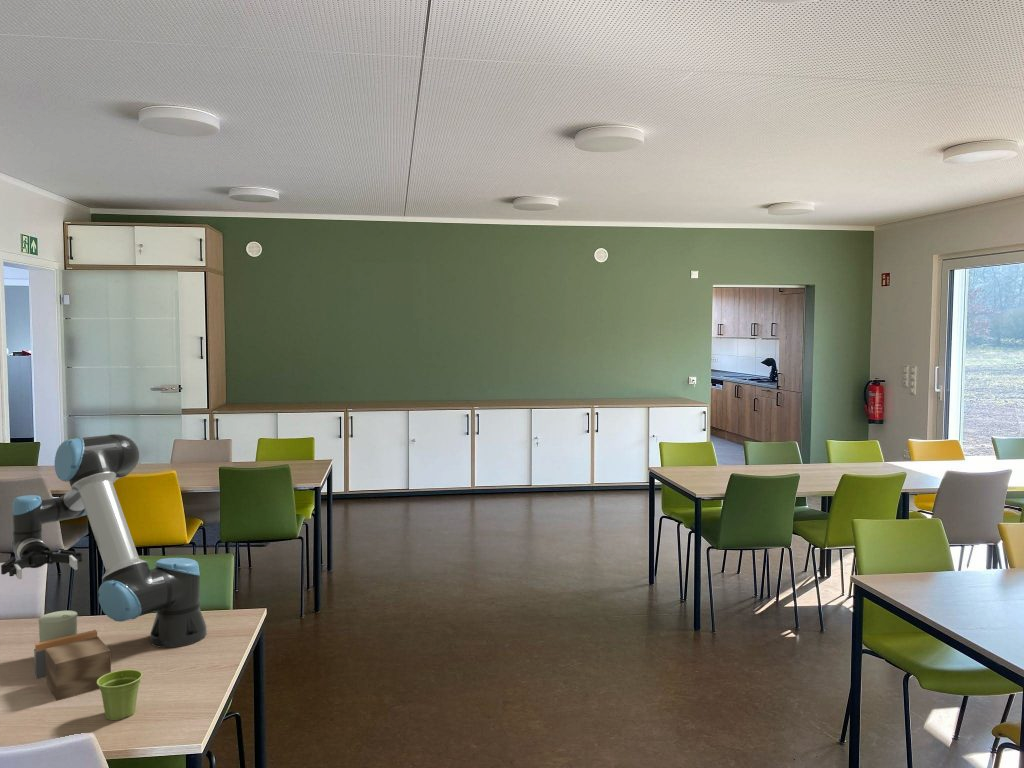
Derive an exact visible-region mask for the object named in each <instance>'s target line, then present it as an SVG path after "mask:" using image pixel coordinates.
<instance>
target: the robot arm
mask: <svg viewBox="0 0 1024 768" xmlns="http://www.w3.org/2000/svg"><path fill="white" fill-rule="evenodd" d="M139 460H140V450H139V447H138V445H137V444H136V443H135V442H134V440H132V439H131V438H129V437H128V436H125V435H123V434H115V433H113V434H106V435H95V436H87V437H86V436H85V437H81V436H80V437H76V438H71V439H67V440H65V441H63V442H61V443H60V445H59V446H58V448H57V450H56V452H55V456H54V471H55V474H56V476H57V478H58V479H59V480H60V481H62V482H69V486H70V489H69V490H68V491H67V492H66V493H65V494H63V495H62V496H60V497H59V496H58V497H52V498H47V499H42V497H41V496H40V495H36V494H29V495H21V496H17V497H16V498H14V499H13V500H12V501H13V502H12V510H11V511H12V513H11V514H12V527H13V529H12V540H11V542H10V543H11V544H10V546H11V550H12V552H13V553H14V555H15V556H13V555H12V556H10V557H9V559H8V560H6V561H5V562H4V563H2V564H1V566H0V573H1V575H6V574H7V573H9V577H14V576H15V577H16V578H17V579H18V580H22V579H23V569H25V568H27V569H28V568H31V569H37V568H41V567H43V566H44V565H46V564H47V565H48V564H49V565H53V564H57V563H58V564H59V563H60V564H69V566H70V567H71V568H72V569H73V570H74V571H77V570H78V565H79V563H83V552H79V551H72V550H66V549H63V548H59V549H58V551H57V552H56V551H52V550H51V549H50V547H49V546H48V545H46V543H45V542H44V541H43V540H42V539H43V538H42V536H43V535H42V533H43V531H42V530H43V529H42V527H43V525H45V524H51V523H55V522H60V521H65V520H71V519H78V518H80V517H84V516H86V517H87V519H88V521H89V525H90V527H91V531H92V533H93V536H94V540H95V542H96V545H97V547H98V551H99V554H100V556H101V560H102V562H103V566H104V568H105V573H104V574H103V576H102V577H101V579H102V583H101V584H100V586H99V588H98V592H97V593H98V598H97V599H98V603H99V606H100V608H101V609H102V612H103V613H104V614H105V615H106V616H107V617H108V618H109V619H111V620H112V621H114V622H125V621H130V620H136V619H137V618H139V617H141V616H144V615H147V614H150V613H154V612H156V615H155V617H154V620H153V623H152V628H151V630H150V633H149V634H150V635H149V640H150V644H152V645H153V646H155V647H158V646H159V648H176V647H183V646H187V645H191V644H195V643H196V642H199V641H201V640H203V639H204V638H205V637H206V636H207V632H208V630H207V629H208V628H207V624H206V621H205V619H204V616H203V613H202V610H201V605H200V603H201V598H200V597H201V594H200V589H201V588H200V576H201V573H200V568H199V567H200V566H199V562H198V561H197V560H196V559H192V558H187V557H167V558H160V559H158V560H156V562H155V564H154V568H151V569H150V567H149V564H148V561H147V560H143V559H141V558H140V557H139V554H138V551H137V549H136V545H135V542H134V540H133V537H132V535H131V531H130V528H129V525H128V523H127V519H126V517H125V514H124V512H123V508H122V504H121V502H120V500H119V496H118V495H117V491H116V489H115V486H114V483H115V482H116V481H117V480H118V479H121V478H126V477H127V476H128V475H129V474H130V473H131V472H133V470H134V469H135V468H136V467H137V465H138V463H139Z"/></svg>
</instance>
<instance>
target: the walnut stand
mask: <svg viewBox="0 0 1024 768" xmlns="http://www.w3.org/2000/svg"><path fill="white" fill-rule="evenodd" d="M111 657H112V655H111V650H110V649H109V647H108V646H107V645H106V644H105V643H104V641H102V640H101V638H100V637H99V636H98V637H94V638H90V639H86V640H81V641H77V642H73V643H68V644H64V645H60V646H55V647H51V648H47V649H45V663H46V677H45V684H46V686H47V687H49V688H48V689H49V690H50V693H51V694H52V695H53V698H54V699H55V701H59V700H64V699H68V698H72V697H74V695H75V696H78V694H79V695H82V694H86V693H90V692H92V691H97V690H100V688H99V686H98V685H97V680H98V679H99V678H100V677H102V676H103V675H105V674H108V673H111V672H112V667H111V665H112V664H111V662H112V660H111V659H112V658H111ZM67 697H68V698H67ZM63 698H64V699H63Z"/></svg>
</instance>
